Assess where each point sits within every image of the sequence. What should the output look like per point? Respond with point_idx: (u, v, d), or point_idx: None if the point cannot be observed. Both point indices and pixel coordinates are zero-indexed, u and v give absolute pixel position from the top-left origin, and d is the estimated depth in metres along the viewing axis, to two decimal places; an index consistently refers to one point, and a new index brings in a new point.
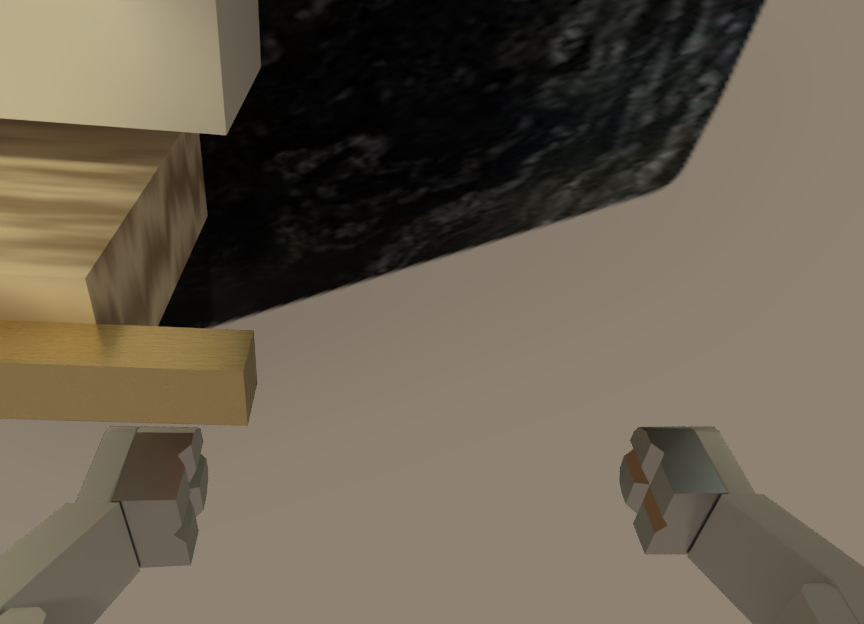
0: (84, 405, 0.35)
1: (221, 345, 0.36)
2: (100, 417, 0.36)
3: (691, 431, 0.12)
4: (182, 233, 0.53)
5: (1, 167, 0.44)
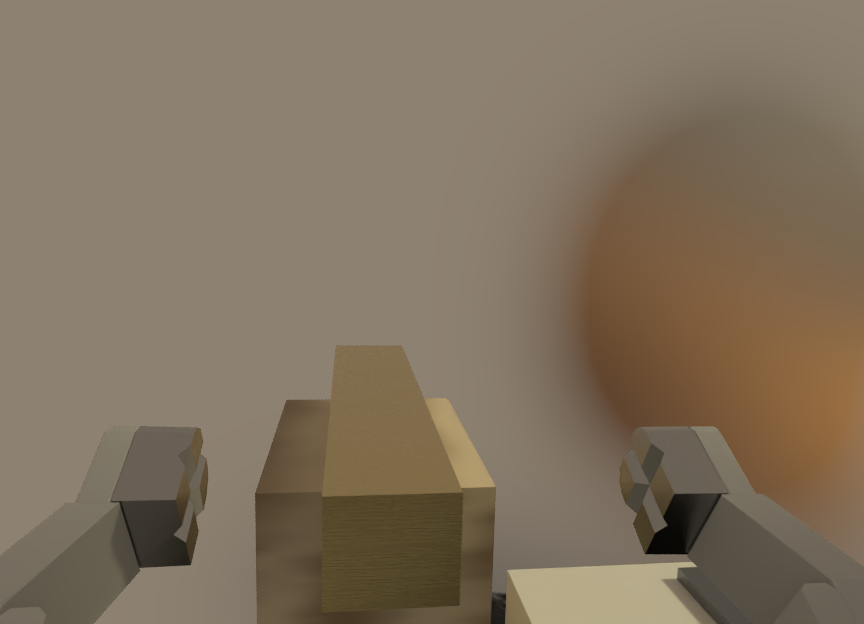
0: (359, 409, 0.27)
1: None
2: (337, 414, 0.26)
3: (691, 431, 0.12)
4: None
5: None
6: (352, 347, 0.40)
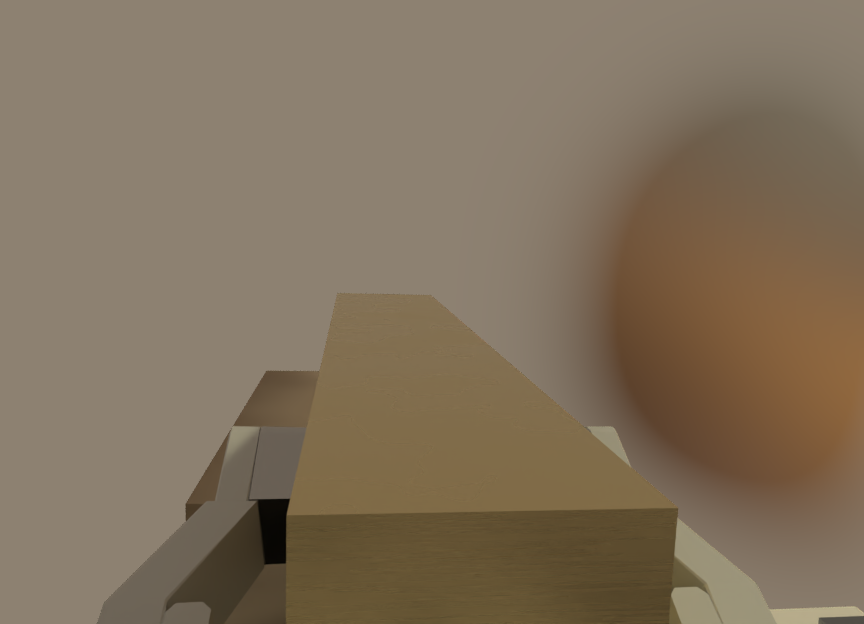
0: (376, 353, 0.15)
1: None
2: (337, 358, 0.14)
3: None
4: None
5: None
6: (361, 295, 0.28)
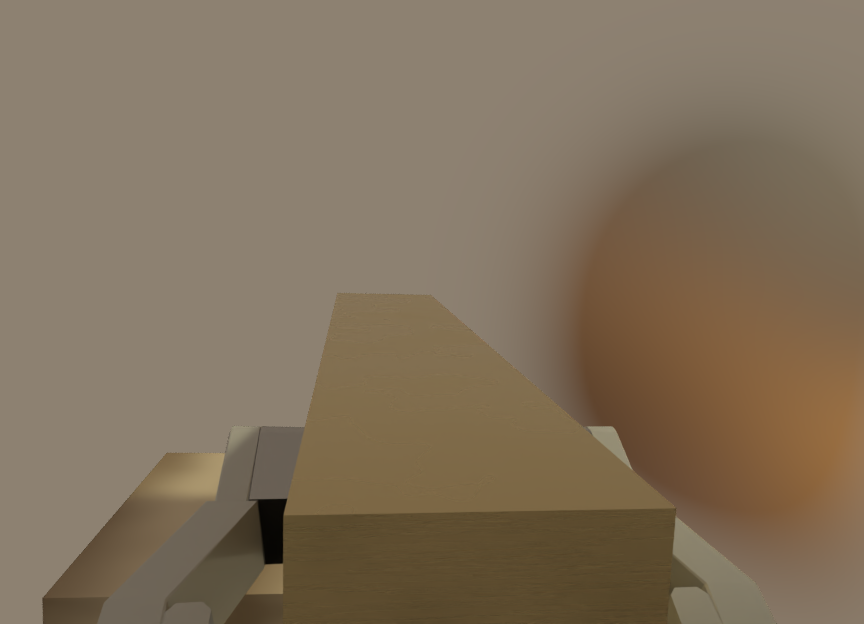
0: (375, 352, 0.15)
1: None
2: (336, 358, 0.14)
3: None
4: None
5: None
6: (361, 294, 0.28)
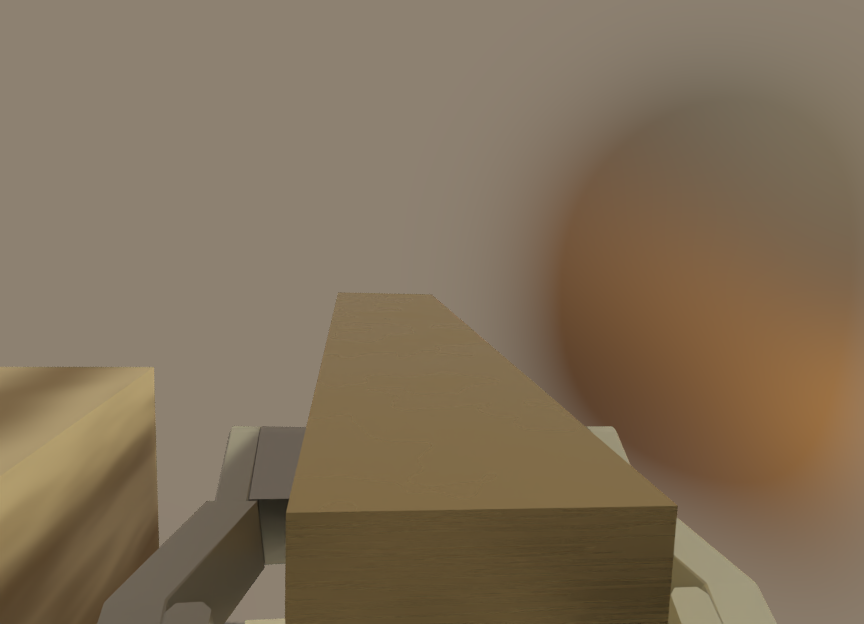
0: (376, 351, 0.15)
1: None
2: (337, 357, 0.14)
3: None
4: None
5: None
6: (361, 294, 0.28)
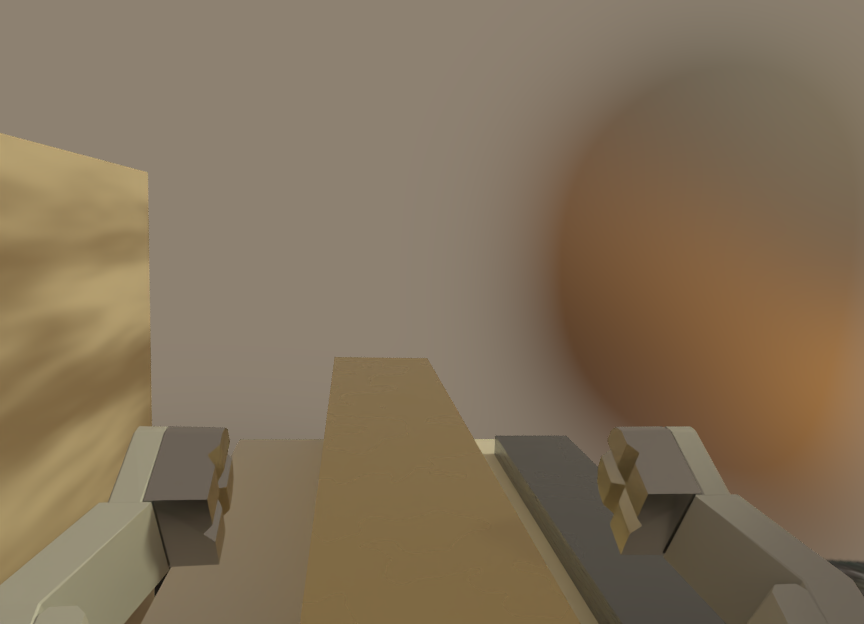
0: (370, 472, 0.15)
1: None
2: (332, 483, 0.14)
3: (667, 431, 0.12)
4: None
5: None
6: (358, 360, 0.28)
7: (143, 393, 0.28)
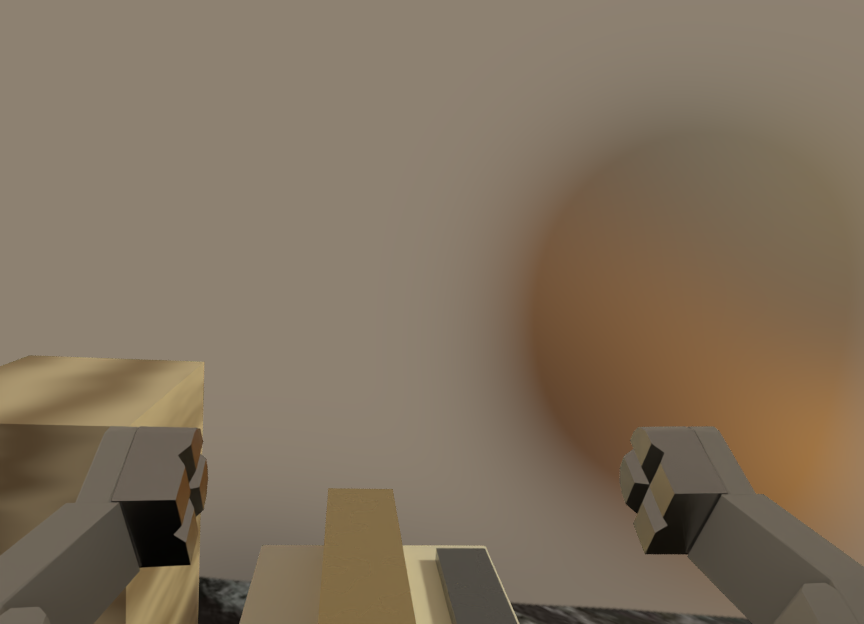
0: (346, 609, 0.28)
1: None
2: (325, 618, 0.27)
3: (691, 431, 0.12)
4: None
5: (181, 595, 0.37)
6: (344, 492, 0.41)
7: None
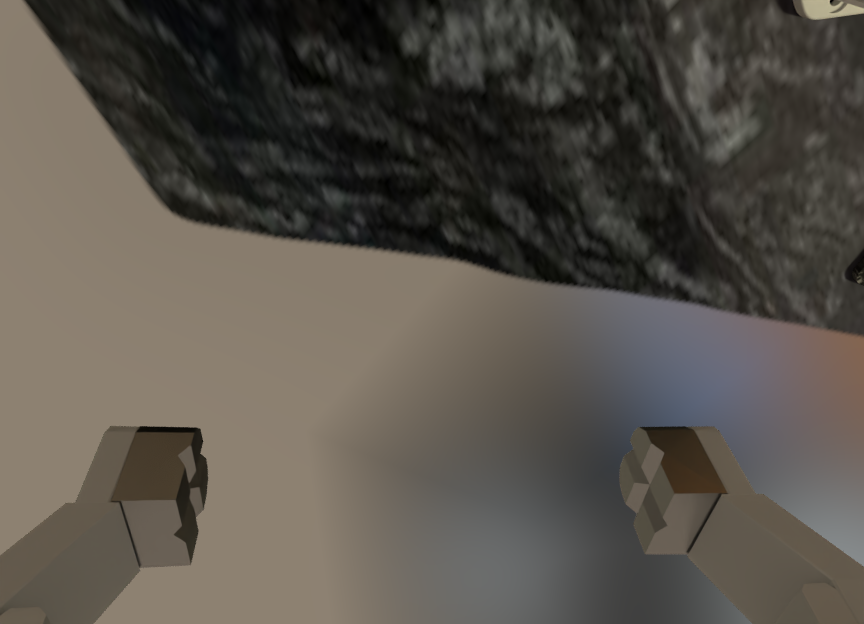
0: None
1: None
2: None
3: (691, 431, 0.12)
4: None
5: None
6: None
7: None
